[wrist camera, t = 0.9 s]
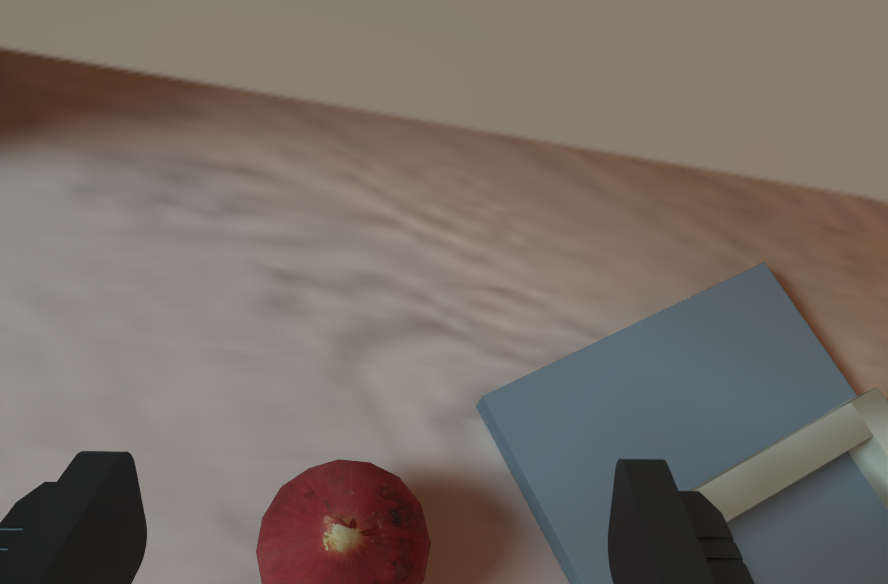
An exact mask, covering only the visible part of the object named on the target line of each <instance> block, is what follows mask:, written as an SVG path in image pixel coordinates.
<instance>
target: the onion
mask: <svg viewBox="0 0 888 584" xmlns="http://www.w3.org/2000/svg"><path fill="white" fill-rule="evenodd" d="M430 545H431V544H430V540H429V535H428V531H427V527H426V523H425V519H424V514H423V510H422V506H421V504H420V502H419V501H418V500H417V499H416V498H415V496H414V495H413V494H412V493H411V491H410V490H409V489H408V488H407V486H406V485H405V484H404V483H403V481H402V480H401V479H400V478H399V477H398V476H396V475H394V474H392V473H390V472H388V471H386V470H384V469H382V468H380V467H378V466H376V465H374V464H372V463H369V462H359V461H349V460H335V461H332V462H329V463H325V464H322V465H319V466H315V467H312V468H309V469H307V470H306V471H304V472H303V473H301V474H300V475H298V476H297V477H295V478H294V479H292V480H291V481H289V482H288V483H286V484H285V485H283V486H282V487H281V488H280V490H279V491H278V493H277V495H276V496H275V498H274V500H273V501H272V503H271V504H270V506H269V508H268V509H267V511H266V513H265V514H264V516H263V518H262V522H261V528H260V533H259V539H258V544H257V550H256V554H257V559H258V565H259V571H260V576H261V582H262V584H422V583H423V581H424V576H425V571H426V566H427V560H428V555H429V550H430Z"/></svg>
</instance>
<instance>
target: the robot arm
mask: <svg viewBox="0 0 888 584" xmlns="http://www.w3.org/2000/svg"><path fill="white" fill-rule="evenodd" d="M146 541H147V526H146V520H145V514H144V509H143V504H142V499H141V493H140V488H139V483H138V478H137V472H136V467H135V463H134V459H133V457H132V455H131V454H130V453H129V452H105V451H82V452H80V453H78V454H77V455H76V456H75V457H74V459H73V460H72V462H71V463H70V464H69V466H68V467H67V469H66V470H65V471H64V473H63V474H62V475H61V477H60V478H59V480H58V481H57V482H44V483H43V484H41V485H40V486H38V487H37V488H36V489H34V490H33V491H32V492H30V493H29V494H27V495H26V496H25V497H23V498H22V499H20V500H19V501H18V502H16V503H15V505H14V506H13V507H12V509H11V510H10V511H9V512H8V514H7V515H6V516H5V518H4V519H3V520H2V522H1V523H0V584H131V583H132V581H133V579H134V577H135V575H136V573H137V571H138V569H139V567H140V565H141V563H142V560H143V557H144V553H145V548H146ZM608 559H609V567H610V572H611V576H612V580H613V584H755V583H754V581H753V579H752V577H751V575H750V573H749V570H748V568H747V566H746V564H745V563H743V557H742V555H741V553H740V551H739V549H738V547H737V544H736V543H734V541H733V536H732V534H731V531H730V529H729V527H728V525H727V523H726V521H725V518H724V516H723V514H722V512H720V511H719V510H718V509H717V508H716V507H715V506H714V505H713V504H712V503H711V502H710V501H709V500H708V499H707V498H706V497H705V496H704V495H703V494H702V493H700V492H699V491H678V489H677V486H676V484H675V481H674V479H673V476H672V474H671V471H670V469H669V466H668V464H667V462H666V461H665V460H664V459H618V461H617V464H616V468H615V476H614V485H613V493H612V502H611V511H610V519H609V528H608Z"/></svg>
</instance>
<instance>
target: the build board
mask: <svg viewBox="0 0 888 584" xmlns="http://www.w3.org/2000/svg"><path fill="white" fill-rule="evenodd" d="M854 397H857V395H856V393H855V392H854V390H853V389H852V388H851V386H850V385H849V383H848V382H847V380H846V379H845V377H844V376H843V375H842V373H841V372H840V370H839V369H838V367H837V366H836V364H835V363H834V362H833V360H832V359H831V357H830V356H829V354H828V353H827V352H826V350H825V349H824V347H823V346H822V344H821V343H820V341H819V340H818V339H817V337H816V336H815V334H814V333H813V331H812V330H811V328H810V327H809V326H808V324H807V323H806V321H805V320H804V318H803V317H802V315H801V314H800V313H799V311H798V310H797V308H796V307H795V305H794V304H793V303H792V301H791V300H790V298H789V297H788V295H787V294H786V292H785V291H784V290H783V288H782V287H781V285H780V284H779V282H778V281H777V279H776V278H775V277H774V275H773V274H772V272H771V271H770V269H769V268H768V267H767V265H766V264H765V262H763V263H761V264H759V265H757V266H755V267H753V268H751V269H749V270H747V271H745V272H742V273H740V274H738V275H736V276H734V277H732V278H730V279H728V280H726V281H724V282H721V283H719V284H717V285H715V286H713V287H711V288H709V289H707V290H705V291H703V292H700V293H698V294H696V295H694V296H692V297H690V298H688V299H686V300H684V301H682V302H679V303H677V304H675V305H673V306H671V307H669V308H667V309H665V310H663V311H661V312H658V313H656V314H654V315H652V316H650V317H648V318H646V319H644V320H642V321H640V322H637V323H635V324H633V325H631V326H629V327H627V328H625V329H623V330H621V331H619V332H616V333H614V334H612V335H610V336H608V337H606V338H604V339H602V340H600V341H598V342H596V343H593V344H591V345H589V346H587V347H585V348H583V349H581V350H579V351H577V352H575V353H572V354H570V355H568V356H566V357H564V358H562V359H560V360H558V361H556V362H554V363H551V364H549V365H547V366H545V367H543V368H541V369H539V370H537V371H535V372H533V373H530V374H528V375H526V376H524V377H522V378H520V379H518V380H516V381H514V382H512V383H509V384H507V385H505V386H503V387H501V388H499V389H497V390H495V391H493V392H491V393H488V394H486V395H484V396H482V398H481V399H480V401H479V403H478V404H477V406H476V407H477V408H478V410H479V412H480V414H481V416H482V418H483V420H484V422H485V424H486V425H487V427H488V429H489V431H490V433H491V435H492V437H493V439H494V441H495V442H496V444H497V446H498V448H499V450H500V452H501V454H502V456H503V458H504V459H505V461H506V463H507V465H508V467H509V469H510V471H511V473H512V475H513V476H514V478H515V480H516V482H517V484H518V486H519V488H520V490H521V492H522V494H523V495H524V497H525V499H526V501H527V503H528V505H529V507H530V509H531V511H532V512H533V514H534V516H535V518H536V520H537V522H538V524H539V526H540V528H541V529H542V531H543V533H544V535H545V537H546V539H547V541H548V543H549V545H550V546H551V548H552V550H553V552H554V554H555V556H556V558H557V560H558V562H559V563H560V565H561V567H562V569H563V571H564V573H565V575H566V577H567V579H568V581H569V582H570V584H613V580H612V576H611V572H610V567H609V559H608V528H609V519H610V511H611V502H612V493H613V485H614V476H615V468H616V464H617V461H618V459H664V460H665V461H666V462H667V464H668V466H669V469H670V471H671V474H672V476H673V479H674V481H675V484H676V486H677V489H678V491H689V490H690V489H692V488H694V487H696V486H697V485H699V484H701V483H703V482H704V481H706V480H708V479H710V478H712V477H713V476H715V475H717V474H719V473H720V472H722V471H724V470H726V469H728V468H729V467H731V466H733V465H735V464H736V463H738V462H740V461H742V460H743V459H745V458H747V457H749V456H751V455H752V454H754V453H756V452H758V451H759V450H761V449H763V448H765V447H766V446H768V445H770V444H772V443H774V442H775V441H777V440H779V439H781V438H782V437H784V436H786V435H788V434H789V433H791V432H793V431H795V430H797V429H798V428H800V427H802V426H804V425H805V424H807V423H809V422H811V421H812V420H814V419H816V418H818V417H820V416H821V415H823V414H825V413H827V412H828V411H830V410H832V409H834V408H835V407H837V406H839V405H841V404H843V403H844V402H846V401H848V400H850V399H852V398H854ZM726 523H727V525H728V527H729V529H730V531H731V534H732V536H733V541H734V543H736V544H737V547H738V549H739V551H740V553H741V555H742V557H743V563H745V564H746V566H747V568H748V570H749V573H750V575H751V577H752V579H753V581H754V583H755V584H888V511H887V509H886V508H885V506H884V505H883V503H882V502H881V500H880V499H879V497H878V496H877V494H876V493H875V491H874V490H873V488H872V487H871V485H870V484H869V483H868V481H867V480H866V478H865V477H864V475H863V474H862V472H861V471H860V469H859V468H858V466H857V465H856V463H855V462H854V460H853V459H852V457H851V456H850V454H849V453H848V451H846V452H845V453H843V454H841V455H840V456H838V457H836V458H834V459H833V460H831V461H829V462H828V463H826V464H824V465H823V466H821V467H819V468H817V469H816V470H814V471H812V472H811V473H809V474H807V475H806V476H804V477H802V478H801V479H799V480H797V481H795V482H794V483H792V484H790V485H789V486H787V487H785V488H784V489H782V490H780V491H779V492H777V493H775V494H773V495H772V496H770V497H768V498H767V499H765V500H763V501H762V502H760V503H758V504H756V505H755V506H753V507H751V508H750V509H748V510H746V511H745V512H743V513H741V514H740V515H738V516H736V517H734V518H733V519H731V520H729V521H728V522H726Z"/></svg>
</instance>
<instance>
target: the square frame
mask: <svg viewBox="0 0 888 584" xmlns="http://www.w3.org/2000/svg"><path fill="white" fill-rule="evenodd" d="M846 451H848V453H849V454H850V456H851V457H852V459H853V460H854V462H855V463H856V465H857V466H858V468H859V469H860V471H861V472H862V474H863V475H864V477H865V478H866V480H867V481H868V483H869V484H870V485H871V487H872V488H873V490H874V491H875V493H876V494H877V496H878V497H879V499H880V500H881V502H882V503H883V505H884V506H885V508H886V509H887V511H888V401H887V400H886V398H885V397H884V395H883V394H882V393H881V391H880V390H879V388H878V387H877V388H874V389H872V390H870V391H868V392H865V393H863V394H861V395H859V396H857V397H854V398H852V399H850V400H848V401H846V402H844V403H843V404H841V405H839V406H837V407H835V408H834V409H832V410H830V411H828V412H827V413H825V414H823V415H821V416H820V417H818V418H816V419H814V420H812V421H811V422H809V423H807V424H805V425H804V426H802V427H800V428H798V429H797V430H795V431H793V432H791V433H789V434H788V435H786V436H784V437H782V438H781V439H779V440H777V441H775V442H774V443H772V444H770V445H768V446H766V447H765V448H763V449H761V450H759V451H758V452H756V453H754V454H752V455H751V456H749V457H747V458H745V459H743V460H742V461H740V462H738V463H736V464H735V465H733V466H731V467H729V468H728V469H726V470H724V471H722V472H720V473H719V474H717V475H715V476H713V477H712V478H710V479H708V480H706V481H704V482H703V483H701V484H699V485H697V486H696V487H694V488H692V489H690V490H689V491H699V492H700V493H702V494H703V495H704V496H705V497H706V498H707V499H708V500H709V501H710V502H711V503H712V504H713V505H714V506H715V507H716V508H717V509H718V510H719V511H720V512H722V514H723V516H724V518H725V521H726V522H728V521H729V520H731V519H733V518H734V517H736V516H738V515H740V514H741V513H743V512H745V511H746V510H748V509H750V508H751V507H753V506H755V505H756V504H758V503H760V502H762V501H763V500H765V499H767V498H768V497H770V496H772V495H773V494H775V493H777V492H779V491H780V490H782V489H784V488H785V487H787V486H789V485H790V484H792V483H794V482H795V481H797V480H799V479H801V478H802V477H804V476H806V475H807V474H809V473H811V472H812V471H814V470H816V469H817V468H819V467H821V466H823V465H824V464H826V463H828V462H829V461H831V460H833V459H834V458H836V457H838V456H840V455H841V454H843V453H845V452H846Z"/></svg>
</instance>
